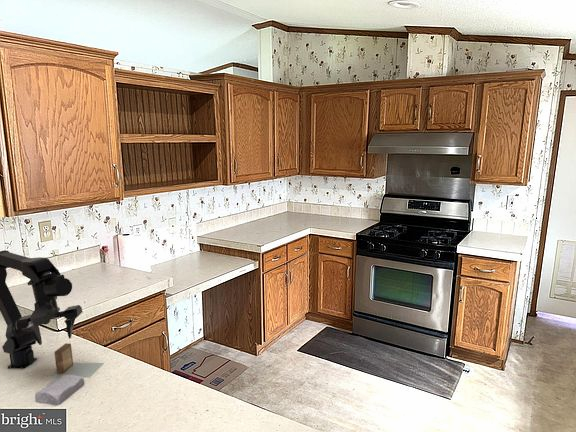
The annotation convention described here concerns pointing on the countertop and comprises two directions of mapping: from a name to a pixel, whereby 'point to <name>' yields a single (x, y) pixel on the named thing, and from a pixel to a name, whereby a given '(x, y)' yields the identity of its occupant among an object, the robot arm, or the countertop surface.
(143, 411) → the countertop surface
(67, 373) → the rubber mat
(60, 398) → the stone block
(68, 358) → the walnut tile
